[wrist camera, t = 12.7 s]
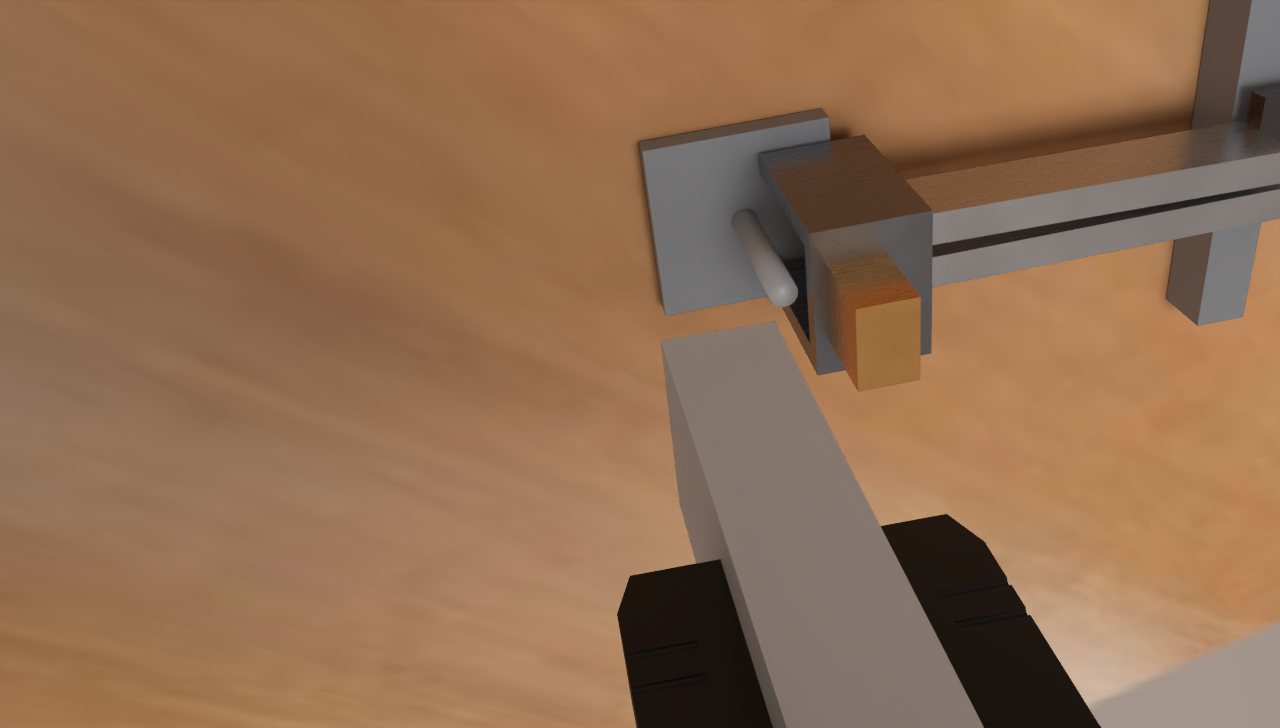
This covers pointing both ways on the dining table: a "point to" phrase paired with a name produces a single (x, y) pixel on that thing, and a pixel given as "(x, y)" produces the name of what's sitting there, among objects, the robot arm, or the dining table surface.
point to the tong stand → (729, 156)
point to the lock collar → (856, 260)
